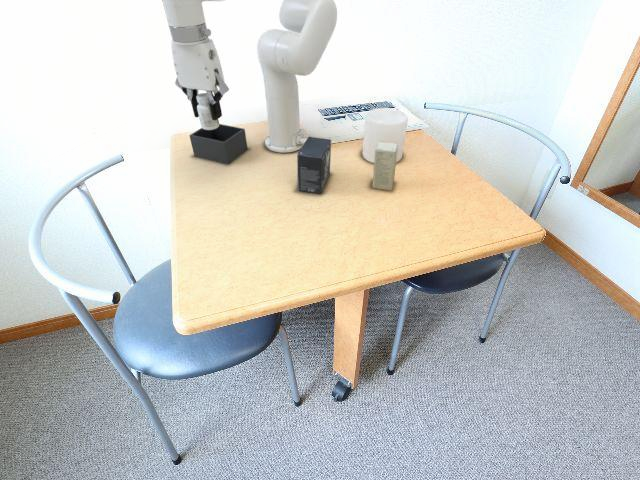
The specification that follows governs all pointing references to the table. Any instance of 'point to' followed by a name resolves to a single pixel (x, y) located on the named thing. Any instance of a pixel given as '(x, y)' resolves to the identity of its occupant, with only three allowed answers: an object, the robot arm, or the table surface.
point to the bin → (219, 143)
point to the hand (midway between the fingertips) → (208, 116)
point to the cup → (384, 130)
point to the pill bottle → (205, 112)
